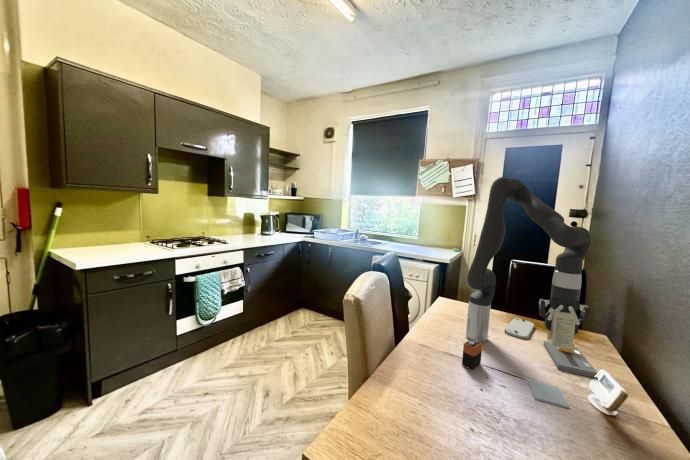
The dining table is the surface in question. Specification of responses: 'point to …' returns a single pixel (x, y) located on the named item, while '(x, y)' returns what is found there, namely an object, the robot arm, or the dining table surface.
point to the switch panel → (570, 361)
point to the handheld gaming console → (519, 328)
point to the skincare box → (562, 330)
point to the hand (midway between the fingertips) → (560, 331)
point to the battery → (472, 354)
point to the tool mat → (547, 393)
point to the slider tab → (567, 349)
